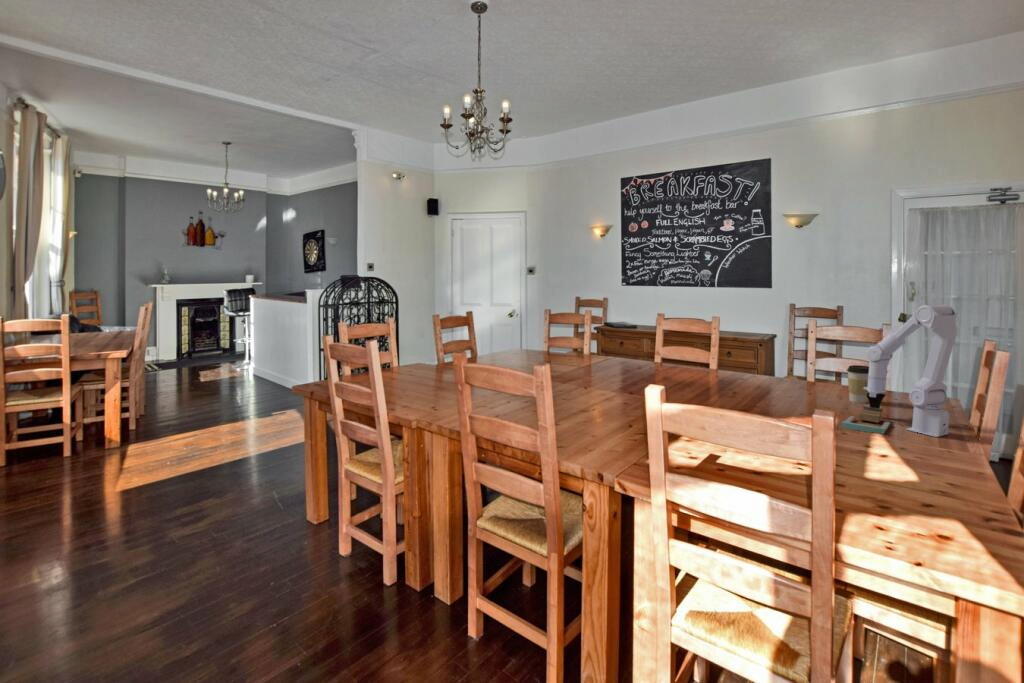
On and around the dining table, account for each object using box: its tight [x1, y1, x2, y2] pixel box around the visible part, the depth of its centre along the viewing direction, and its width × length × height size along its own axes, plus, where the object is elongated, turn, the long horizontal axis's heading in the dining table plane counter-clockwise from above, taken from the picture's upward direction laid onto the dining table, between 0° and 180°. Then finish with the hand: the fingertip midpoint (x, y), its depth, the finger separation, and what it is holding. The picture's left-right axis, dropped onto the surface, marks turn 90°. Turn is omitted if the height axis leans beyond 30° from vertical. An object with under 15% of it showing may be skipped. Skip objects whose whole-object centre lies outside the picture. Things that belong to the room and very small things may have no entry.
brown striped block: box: [858, 406, 883, 425], centre depth 197 cm, size 7×6×4 cm
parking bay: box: [840, 415, 891, 435], centre depth 190 cm, size 14×12×2 cm
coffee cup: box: [846, 364, 869, 404], centre depth 225 cm, size 10×10×15 cm
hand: (874, 412), depth 202 cm, fingers closed
